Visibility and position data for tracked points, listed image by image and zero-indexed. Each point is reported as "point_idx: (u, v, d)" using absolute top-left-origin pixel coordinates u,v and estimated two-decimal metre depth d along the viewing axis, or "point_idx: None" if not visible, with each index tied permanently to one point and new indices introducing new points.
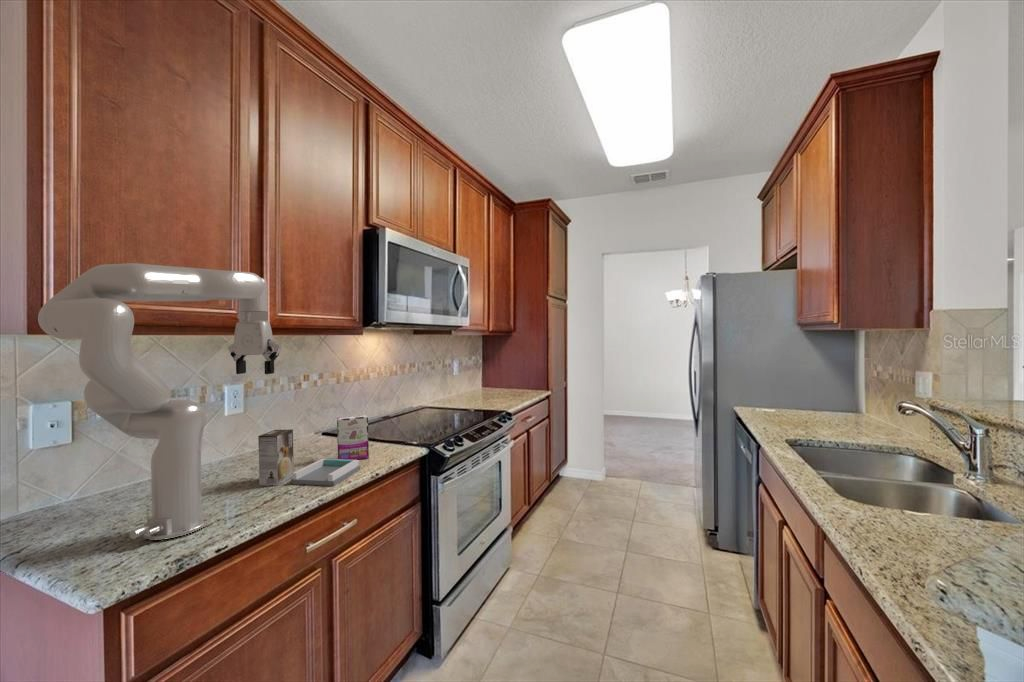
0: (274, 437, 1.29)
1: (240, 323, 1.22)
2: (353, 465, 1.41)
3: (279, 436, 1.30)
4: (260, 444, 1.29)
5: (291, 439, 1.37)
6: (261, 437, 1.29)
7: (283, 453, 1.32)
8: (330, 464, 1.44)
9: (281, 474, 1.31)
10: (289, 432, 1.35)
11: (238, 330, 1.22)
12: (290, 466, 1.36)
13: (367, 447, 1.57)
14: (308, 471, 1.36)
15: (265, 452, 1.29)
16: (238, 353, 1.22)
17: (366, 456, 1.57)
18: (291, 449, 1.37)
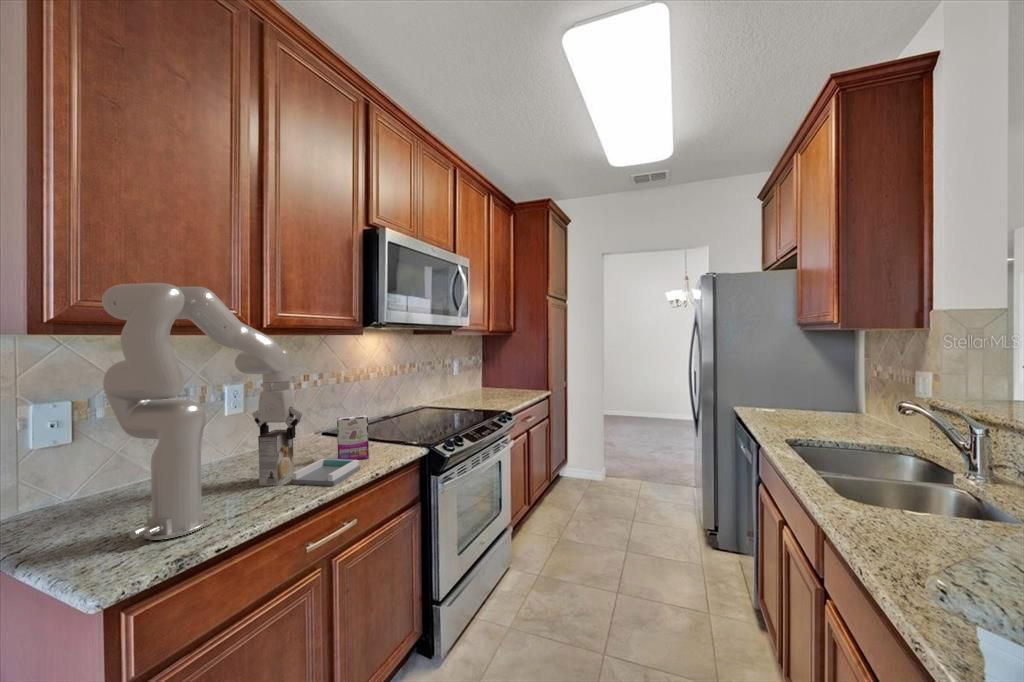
0: (274, 437, 1.29)
1: (264, 393, 1.31)
2: (353, 465, 1.41)
3: (279, 436, 1.30)
4: (260, 444, 1.29)
5: (291, 439, 1.37)
6: (261, 437, 1.29)
7: (283, 453, 1.32)
8: (330, 464, 1.44)
9: (281, 474, 1.31)
10: None
11: (262, 399, 1.31)
12: (290, 466, 1.36)
13: (367, 447, 1.57)
14: (308, 471, 1.36)
15: (265, 452, 1.29)
16: (262, 420, 1.32)
17: (366, 456, 1.57)
18: (291, 449, 1.37)
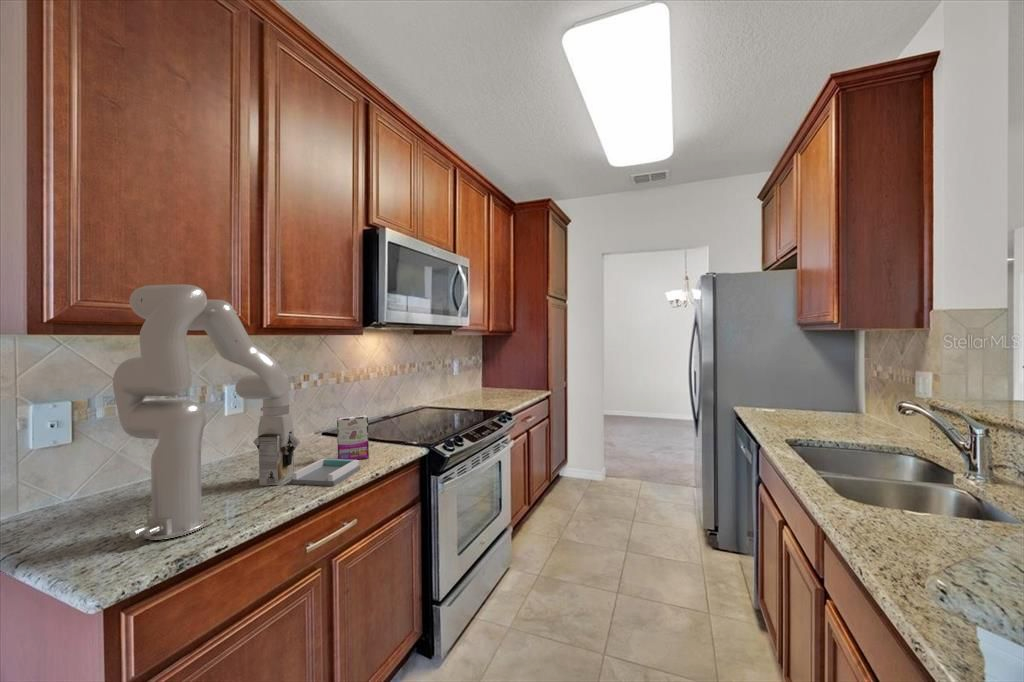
0: (274, 437, 1.29)
1: (264, 417, 1.31)
2: (353, 465, 1.41)
3: (279, 436, 1.30)
4: (260, 444, 1.29)
5: None
6: (261, 437, 1.29)
7: (283, 453, 1.32)
8: (330, 464, 1.44)
9: (281, 474, 1.31)
10: None
11: (262, 424, 1.31)
12: (290, 466, 1.36)
13: (367, 447, 1.57)
14: (308, 471, 1.36)
15: (265, 452, 1.29)
16: None
17: (366, 456, 1.57)
18: None
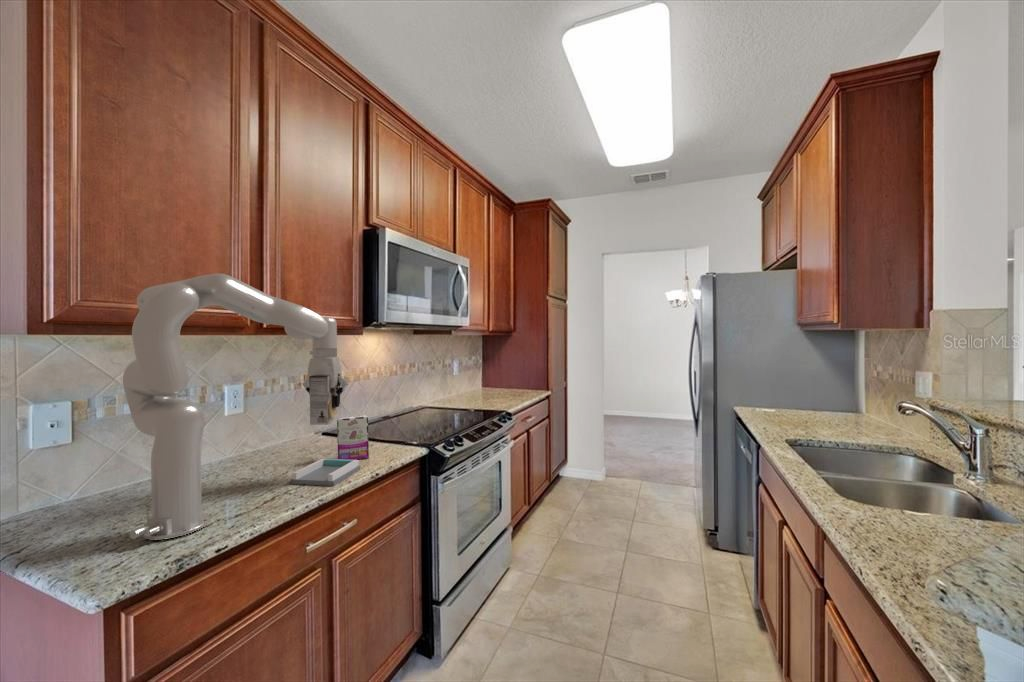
0: (325, 377, 1.33)
1: (313, 359, 1.35)
2: (353, 465, 1.41)
3: (329, 377, 1.34)
4: (311, 384, 1.33)
5: None
6: (312, 377, 1.33)
7: (332, 394, 1.36)
8: (330, 464, 1.44)
9: (331, 414, 1.35)
10: None
11: (312, 365, 1.35)
12: (337, 409, 1.39)
13: (367, 447, 1.57)
14: (308, 471, 1.36)
15: (316, 392, 1.33)
16: None
17: (366, 456, 1.57)
18: None
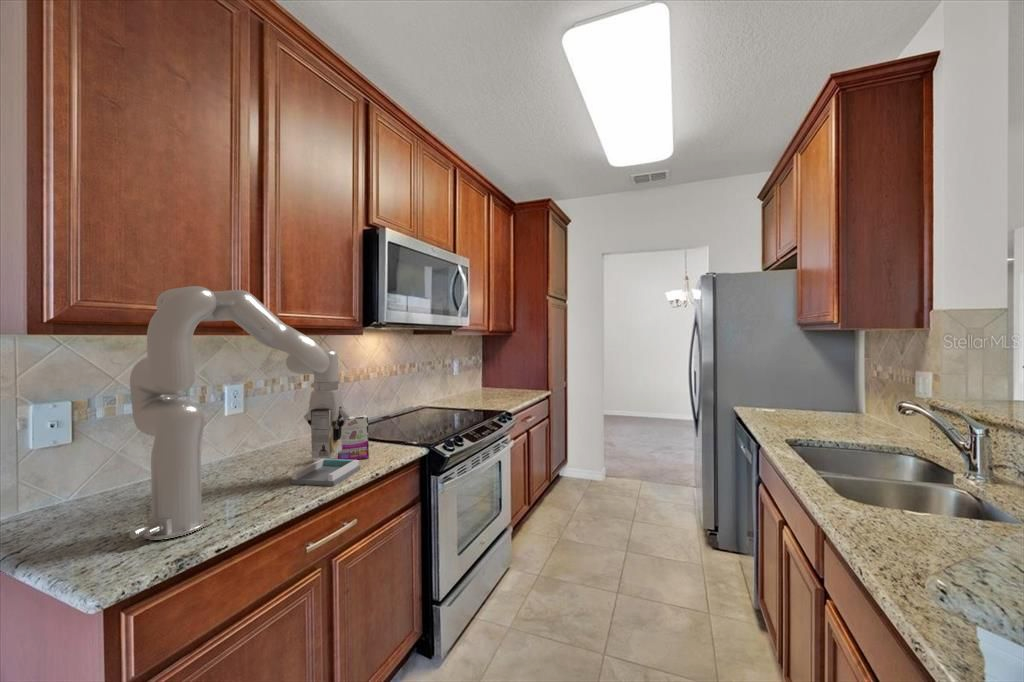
0: (326, 411, 1.33)
1: (315, 392, 1.35)
2: (353, 465, 1.41)
3: (330, 410, 1.34)
4: (312, 418, 1.33)
5: None
6: (313, 411, 1.33)
7: (334, 427, 1.36)
8: (330, 464, 1.44)
9: (332, 447, 1.35)
10: None
11: (313, 399, 1.35)
12: (339, 441, 1.40)
13: (367, 447, 1.57)
14: (308, 471, 1.36)
15: (317, 426, 1.33)
16: None
17: (366, 456, 1.57)
18: None
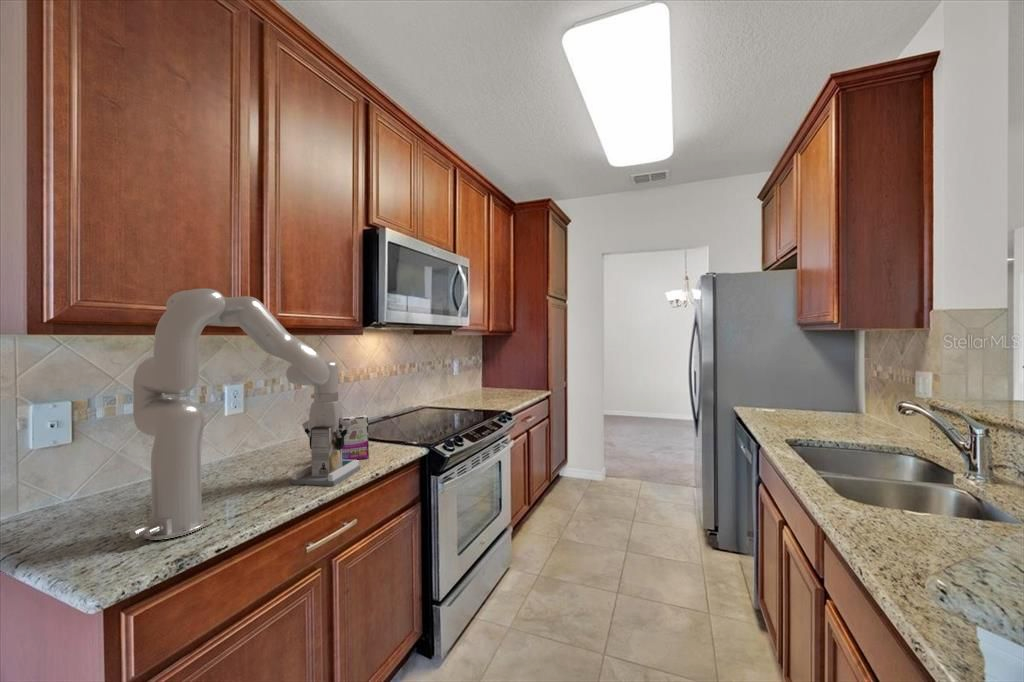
0: (326, 429, 1.33)
1: (315, 404, 1.35)
2: (353, 465, 1.41)
3: (330, 428, 1.34)
4: (312, 436, 1.33)
5: None
6: (313, 429, 1.33)
7: (334, 445, 1.36)
8: None
9: (332, 465, 1.35)
10: None
11: (313, 410, 1.35)
12: (339, 458, 1.39)
13: (367, 447, 1.57)
14: (308, 471, 1.36)
15: (317, 444, 1.33)
16: None
17: (366, 456, 1.57)
18: None
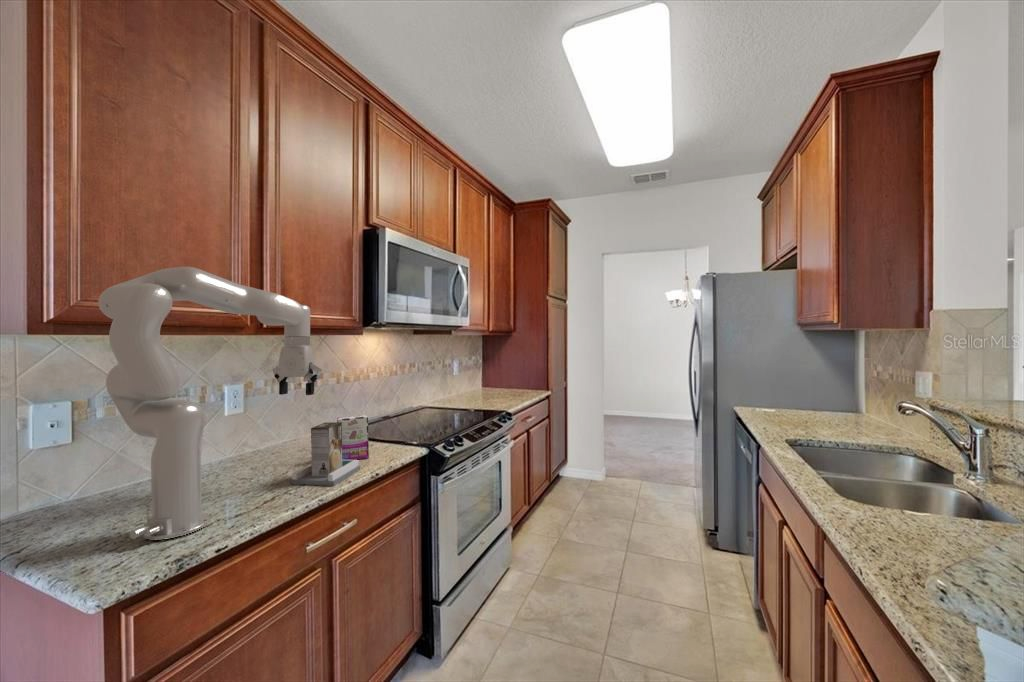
0: (326, 429, 1.33)
1: (285, 347, 1.32)
2: (353, 465, 1.41)
3: (330, 428, 1.34)
4: (312, 436, 1.33)
5: (340, 431, 1.40)
6: (313, 429, 1.33)
7: (334, 445, 1.36)
8: None
9: (332, 465, 1.35)
10: (339, 425, 1.39)
11: (283, 354, 1.32)
12: (339, 458, 1.39)
13: (367, 447, 1.57)
14: (308, 471, 1.36)
15: (317, 444, 1.33)
16: (282, 375, 1.31)
17: (366, 456, 1.57)
18: (340, 441, 1.40)
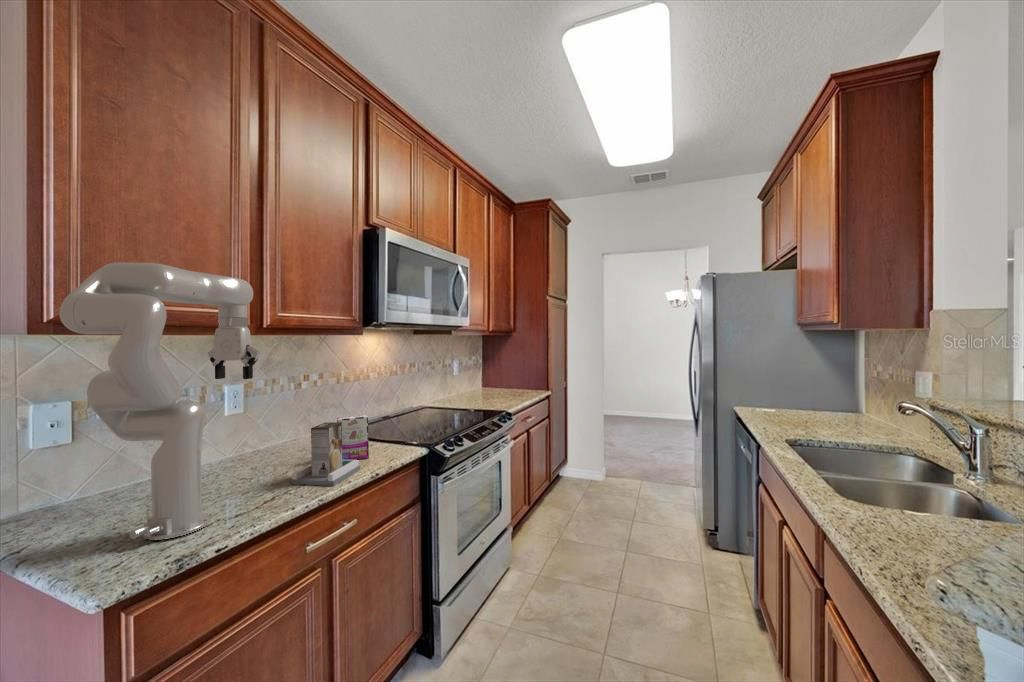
0: (326, 429, 1.33)
1: (219, 329, 1.24)
2: (353, 465, 1.41)
3: (330, 428, 1.34)
4: (312, 436, 1.33)
5: (340, 431, 1.40)
6: (313, 429, 1.33)
7: (334, 445, 1.36)
8: None
9: (332, 465, 1.35)
10: (339, 425, 1.39)
11: (217, 336, 1.24)
12: (339, 458, 1.39)
13: (367, 447, 1.57)
14: (308, 471, 1.36)
15: (317, 444, 1.33)
16: (217, 358, 1.24)
17: (366, 456, 1.57)
18: (340, 441, 1.40)
